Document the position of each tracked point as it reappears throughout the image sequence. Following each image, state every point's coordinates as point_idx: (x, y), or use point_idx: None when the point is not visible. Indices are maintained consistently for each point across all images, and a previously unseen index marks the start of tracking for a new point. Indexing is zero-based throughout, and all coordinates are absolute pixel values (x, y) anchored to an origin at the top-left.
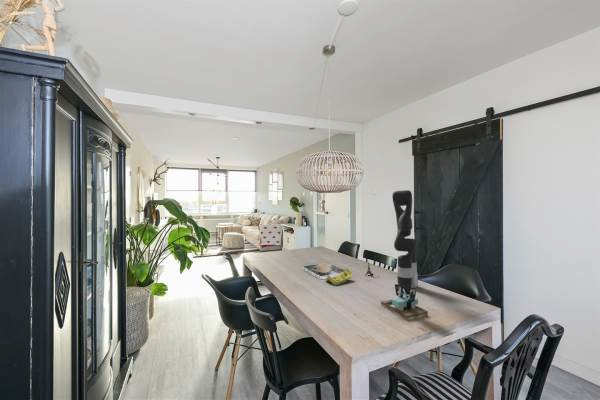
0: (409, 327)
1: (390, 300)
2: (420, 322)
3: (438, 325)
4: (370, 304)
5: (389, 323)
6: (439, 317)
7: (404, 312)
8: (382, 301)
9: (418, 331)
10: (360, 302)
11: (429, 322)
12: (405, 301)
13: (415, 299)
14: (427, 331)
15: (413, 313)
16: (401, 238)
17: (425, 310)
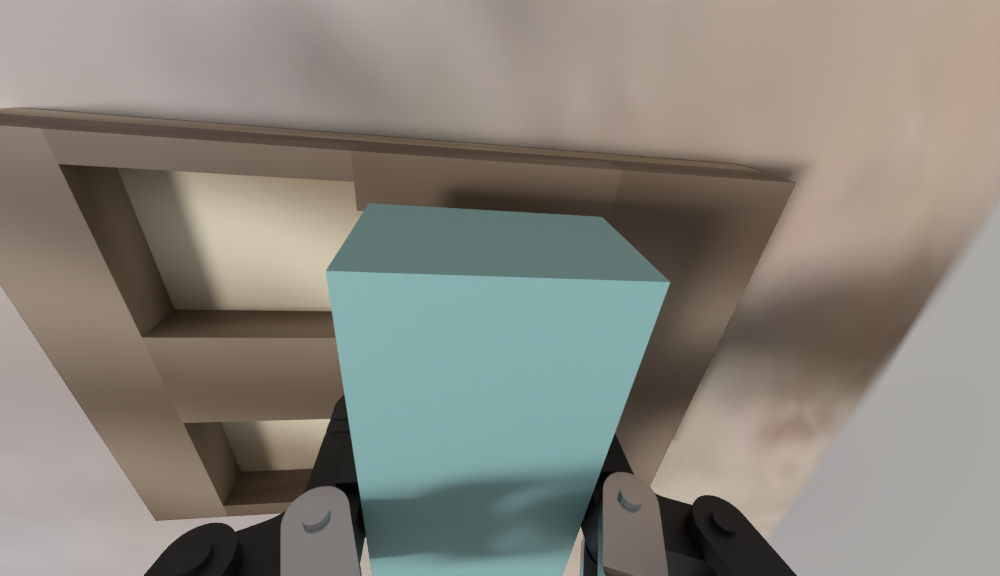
0: (709, 483)
1: (121, 412)
2: (740, 371)
3: (917, 267)
4: (142, 526)
5: (579, 546)
6: (908, 24)
7: None
8: (165, 511)
9: (785, 468)
10: (67, 572)
11: (815, 297)
12: (566, 548)
13: (637, 358)
14: (843, 423)
15: (671, 411)
16: None
17: (755, 193)
